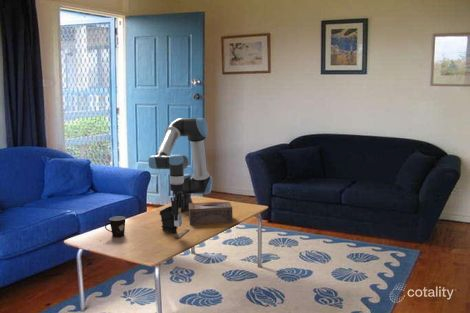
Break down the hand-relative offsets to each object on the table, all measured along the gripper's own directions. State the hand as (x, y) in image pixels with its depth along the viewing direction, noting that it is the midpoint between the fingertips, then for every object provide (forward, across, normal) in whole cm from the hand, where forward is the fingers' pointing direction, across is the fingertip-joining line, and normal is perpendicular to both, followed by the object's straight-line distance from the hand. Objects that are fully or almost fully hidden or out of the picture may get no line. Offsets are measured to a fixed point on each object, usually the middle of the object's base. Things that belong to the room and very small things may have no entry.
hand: (178, 224), depth 262 cm
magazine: (+7, -9, -10) cm, 15 cm away
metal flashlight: (0, 0, 0) cm, 0 cm away
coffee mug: (+7, +7, -35) cm, 36 cm away
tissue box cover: (+7, -35, +7) cm, 36 cm away
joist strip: (+7, -5, 0) cm, 9 cm away
